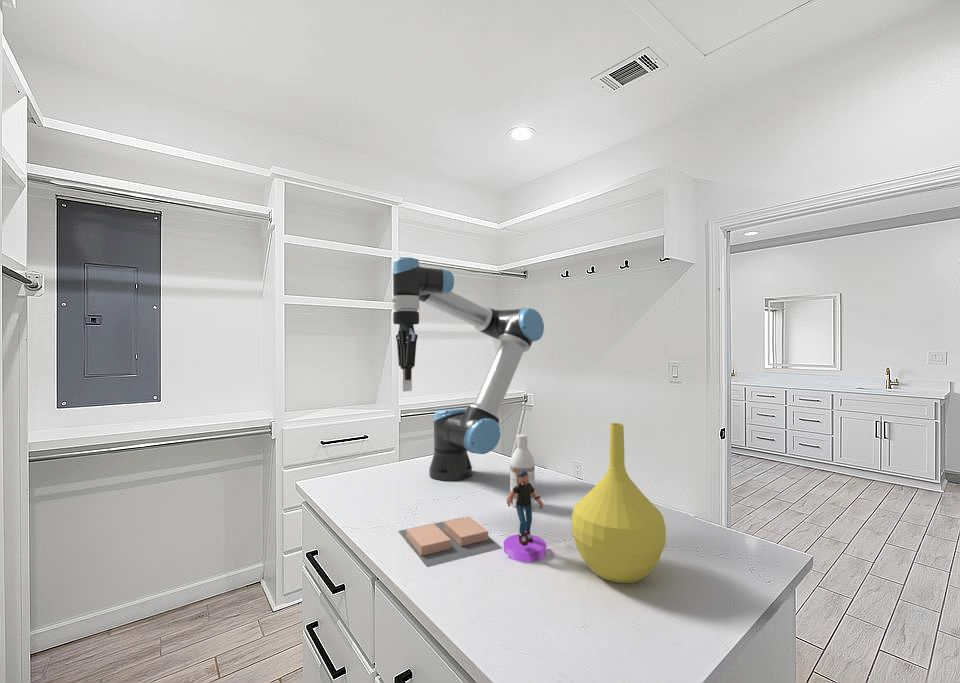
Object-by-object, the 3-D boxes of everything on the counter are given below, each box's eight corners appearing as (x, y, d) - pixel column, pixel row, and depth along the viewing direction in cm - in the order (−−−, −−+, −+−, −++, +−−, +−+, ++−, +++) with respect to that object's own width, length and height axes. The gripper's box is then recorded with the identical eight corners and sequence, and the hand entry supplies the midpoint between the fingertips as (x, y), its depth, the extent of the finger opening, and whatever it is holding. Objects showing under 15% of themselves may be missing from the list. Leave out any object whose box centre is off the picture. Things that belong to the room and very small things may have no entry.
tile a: (469, 516, 113) (488, 531, 105) (469, 525, 113) (488, 540, 105) (443, 521, 110) (460, 537, 101) (443, 530, 110) (461, 546, 101)
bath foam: (506, 503, 130) (505, 434, 130) (527, 499, 133) (526, 432, 133) (517, 511, 124) (517, 438, 124) (539, 507, 126) (538, 436, 126)
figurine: (515, 564, 94) (514, 478, 94) (497, 546, 102) (496, 467, 103) (553, 556, 97) (553, 473, 97) (533, 539, 106) (532, 463, 106)
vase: (656, 607, 79) (655, 437, 79) (558, 578, 88) (557, 427, 88) (673, 563, 94) (672, 421, 94) (588, 543, 104) (587, 414, 104)
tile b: (434, 523, 109) (450, 539, 100) (434, 532, 109) (450, 549, 100) (406, 529, 106) (421, 546, 97) (406, 538, 106) (421, 556, 97)
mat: (464, 518, 118) (464, 517, 118) (502, 549, 101) (502, 547, 101) (397, 532, 110) (397, 530, 110) (427, 568, 92) (427, 566, 92)
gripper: (387, 312, 136) (387, 389, 136) (400, 309, 125) (401, 394, 124) (411, 312, 140) (411, 388, 140) (426, 309, 128) (426, 392, 128)
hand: (406, 390), depth 132 cm, fingers closed
